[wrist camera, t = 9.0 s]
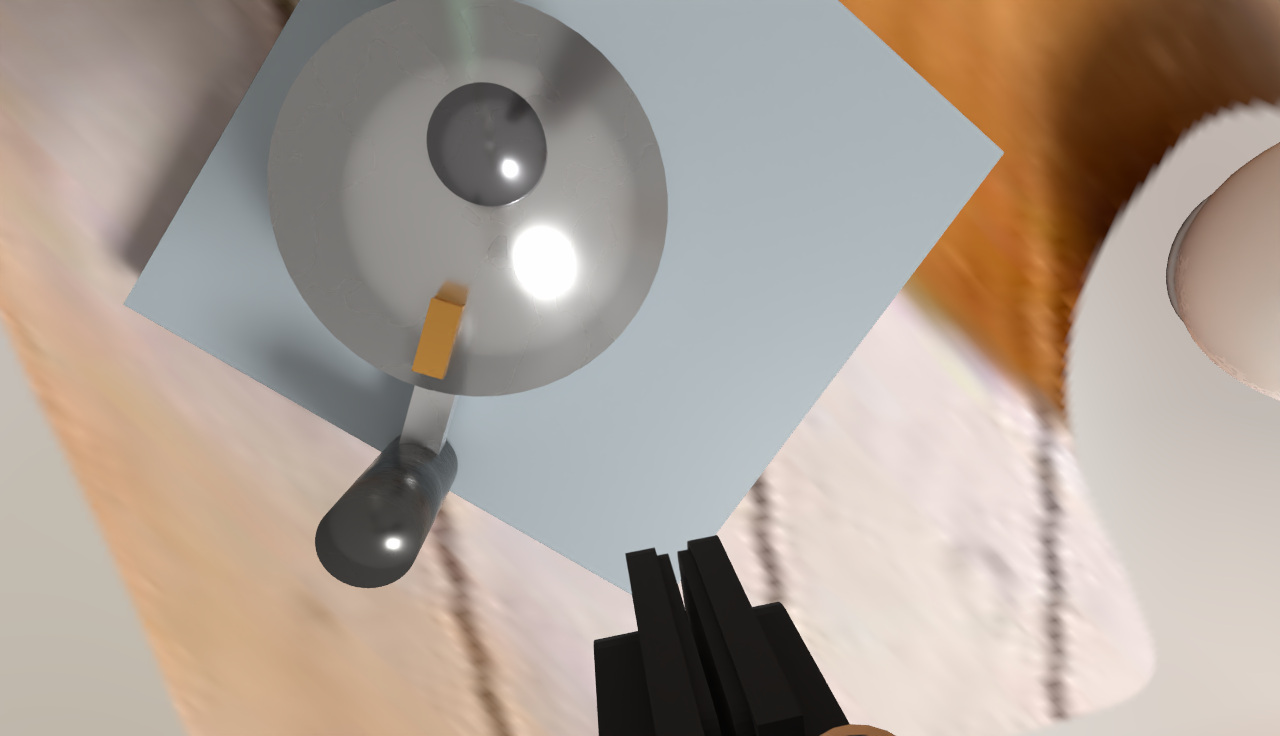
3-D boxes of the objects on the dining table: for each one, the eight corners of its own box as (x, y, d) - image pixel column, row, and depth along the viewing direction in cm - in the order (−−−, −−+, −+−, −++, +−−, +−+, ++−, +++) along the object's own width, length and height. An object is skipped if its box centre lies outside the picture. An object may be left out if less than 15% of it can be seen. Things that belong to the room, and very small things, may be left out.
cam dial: (363, -24, 16) (269, -141, 11) (697, 107, 18) (745, 57, 13) (253, 457, 19) (136, 537, 14) (556, 533, 21) (550, 629, 15)
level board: (162, 294, 20) (-12, 318, 14) (490, -265, 17) (448, -518, 12) (651, 580, 24) (676, 689, 18) (965, 160, 22) (1110, 130, 16)
